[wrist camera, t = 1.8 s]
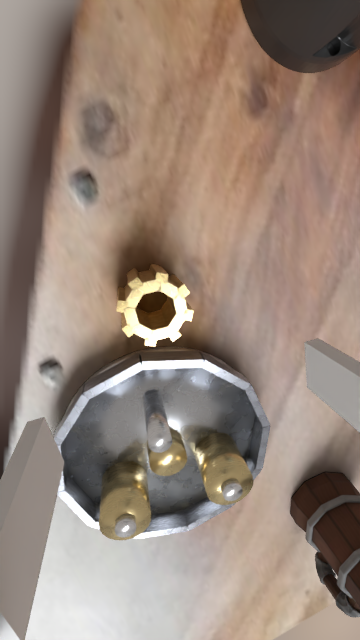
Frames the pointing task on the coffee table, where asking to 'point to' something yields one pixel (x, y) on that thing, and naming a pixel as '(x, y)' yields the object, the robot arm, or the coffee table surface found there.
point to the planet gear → (158, 321)
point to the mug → (333, 534)
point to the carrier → (160, 443)
